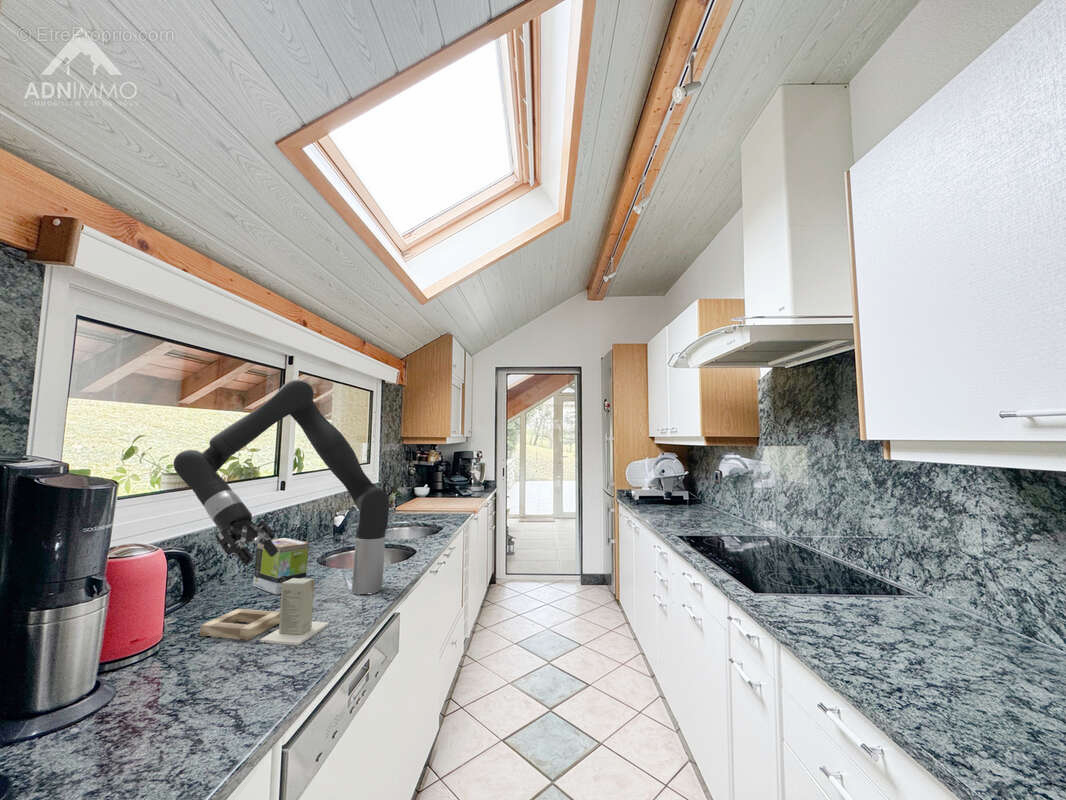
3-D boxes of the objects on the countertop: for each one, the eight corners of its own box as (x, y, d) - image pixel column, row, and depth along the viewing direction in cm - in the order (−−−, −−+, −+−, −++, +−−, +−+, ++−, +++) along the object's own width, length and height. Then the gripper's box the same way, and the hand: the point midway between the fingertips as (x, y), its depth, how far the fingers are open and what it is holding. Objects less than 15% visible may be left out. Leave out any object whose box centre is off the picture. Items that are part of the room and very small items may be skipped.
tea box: (306, 587, 142) (310, 541, 143) (275, 596, 133) (279, 547, 135) (282, 579, 150) (286, 536, 151) (251, 587, 141) (255, 541, 143)
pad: (294, 622, 114) (294, 619, 114) (328, 625, 112) (328, 622, 112) (259, 642, 102) (260, 639, 102) (298, 645, 101) (298, 642, 101)
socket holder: (236, 618, 116) (237, 608, 116) (281, 621, 114) (282, 612, 114) (199, 635, 105) (200, 625, 105) (248, 640, 103) (249, 629, 103)
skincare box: (312, 628, 109) (316, 578, 110) (301, 635, 105) (305, 583, 106) (288, 626, 110) (293, 577, 111) (276, 633, 105) (281, 582, 107)
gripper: (214, 504, 106) (252, 554, 104) (258, 498, 120) (292, 542, 118) (193, 525, 106) (230, 576, 104) (239, 517, 120) (272, 561, 118)
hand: (263, 558), depth 111 cm, fingers open, 8 cm apart
